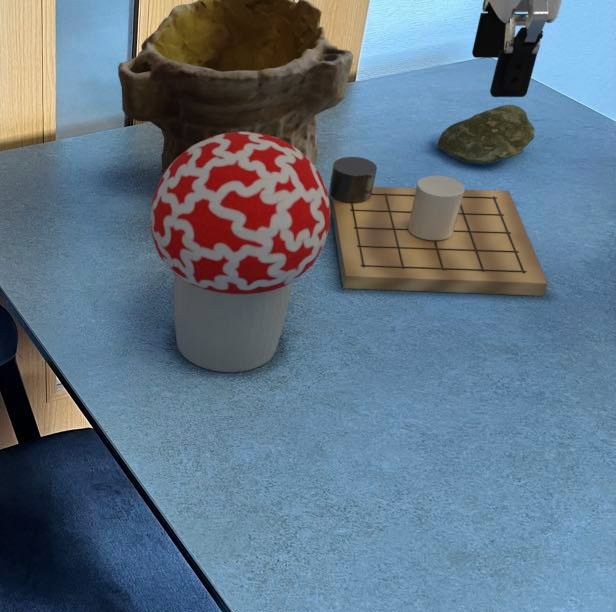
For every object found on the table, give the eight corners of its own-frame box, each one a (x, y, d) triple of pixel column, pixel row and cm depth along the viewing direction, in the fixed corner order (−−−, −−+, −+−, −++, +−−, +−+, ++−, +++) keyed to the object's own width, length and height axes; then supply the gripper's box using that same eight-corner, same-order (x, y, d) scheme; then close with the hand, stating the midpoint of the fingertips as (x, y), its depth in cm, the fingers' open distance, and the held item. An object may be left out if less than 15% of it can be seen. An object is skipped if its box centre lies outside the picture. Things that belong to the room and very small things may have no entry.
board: (505, 202, 119) (509, 189, 117) (543, 296, 104) (548, 282, 103) (328, 197, 120) (331, 184, 119) (343, 288, 106) (345, 274, 105)
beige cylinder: (449, 219, 113) (460, 175, 109) (456, 241, 109) (468, 197, 106) (404, 218, 113) (414, 174, 110) (410, 239, 110) (420, 195, 106)
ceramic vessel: (216, 217, 100) (143, -48, 96) (127, 267, 123) (66, 54, 119) (407, 165, 106) (346, -86, 103) (289, 222, 129) (235, 19, 126)
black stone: (369, 184, 119) (374, 157, 117) (373, 203, 116) (379, 176, 113) (327, 182, 119) (331, 156, 117) (330, 202, 116) (334, 175, 114)
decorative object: (117, 324, 102) (120, 123, 88) (251, 286, 107) (275, 90, 93) (196, 410, 92) (214, 200, 78) (341, 365, 97) (382, 158, 82)
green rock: (425, 138, 127) (479, 66, 124) (432, 161, 133) (484, 92, 131) (495, 179, 123) (552, 105, 121) (499, 200, 130) (553, 131, 127)
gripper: (622, -107, 80) (558, 112, 93) (570, -157, 93) (519, 43, 105) (522, -105, 81) (472, 112, 93) (483, -155, 93) (443, 43, 105)
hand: (497, 75), depth 99 cm, fingers open, 9 cm apart
